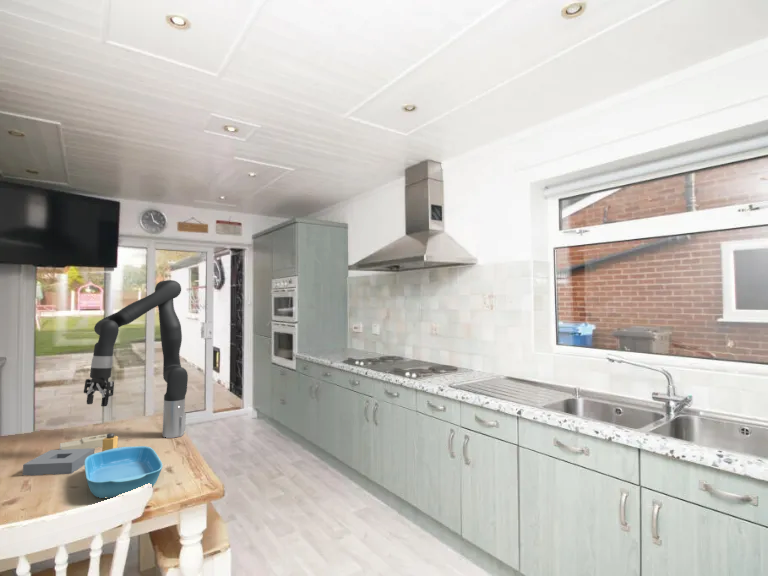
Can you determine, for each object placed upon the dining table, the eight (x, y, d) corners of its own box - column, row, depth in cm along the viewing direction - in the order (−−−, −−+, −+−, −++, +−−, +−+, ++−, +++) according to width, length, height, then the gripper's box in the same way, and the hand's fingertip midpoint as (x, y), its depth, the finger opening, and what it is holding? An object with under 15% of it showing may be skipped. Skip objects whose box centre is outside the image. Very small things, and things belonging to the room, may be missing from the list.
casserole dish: (167, 491, 140) (168, 470, 141) (86, 510, 126) (87, 486, 127) (149, 459, 169) (150, 441, 170) (81, 472, 156) (82, 452, 156)
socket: (94, 458, 169) (94, 448, 169) (71, 473, 153) (72, 462, 153) (50, 460, 166) (50, 449, 167) (22, 475, 151) (23, 464, 151)
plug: (117, 452, 176) (118, 432, 176) (112, 456, 172) (113, 435, 172) (106, 453, 175) (107, 432, 176) (101, 456, 171) (103, 435, 172)
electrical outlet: (60, 441, 179) (109, 433, 191) (59, 450, 179) (109, 442, 191) (61, 445, 174) (112, 436, 186) (61, 455, 173) (111, 446, 185)
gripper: (121, 367, 179) (117, 405, 177) (98, 364, 184) (93, 402, 182) (105, 368, 172) (100, 408, 170) (81, 365, 177) (75, 404, 175)
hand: (96, 405), depth 176 cm, fingers open, 8 cm apart
